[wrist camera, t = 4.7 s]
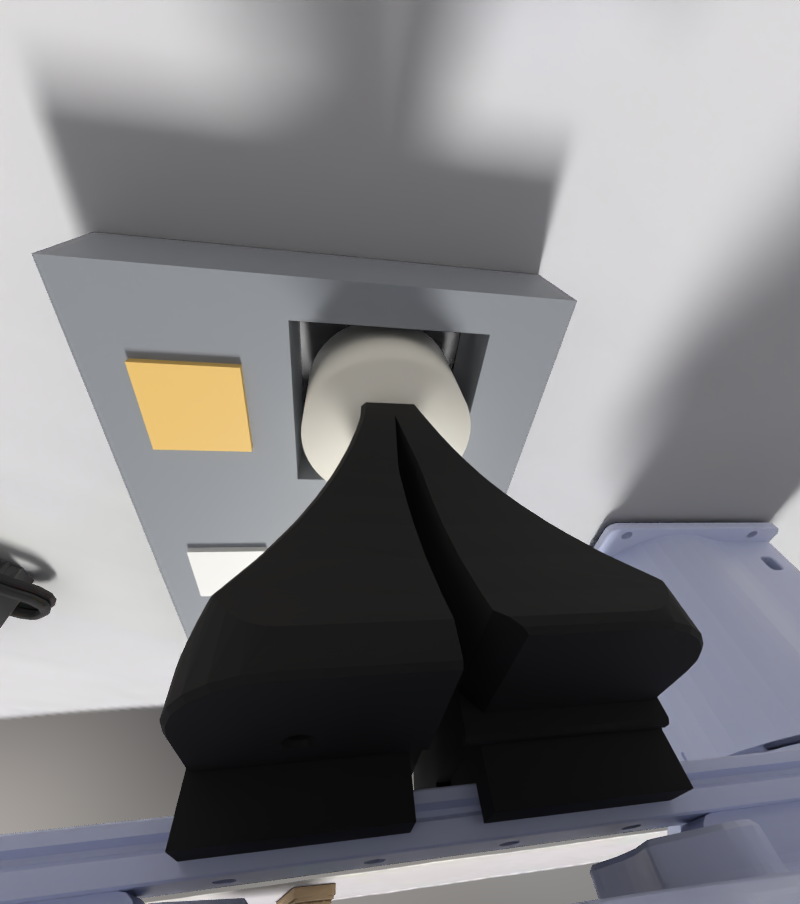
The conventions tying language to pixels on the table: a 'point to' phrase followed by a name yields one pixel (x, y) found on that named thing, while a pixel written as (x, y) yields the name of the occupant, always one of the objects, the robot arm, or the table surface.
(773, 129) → the table surface
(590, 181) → the table surface
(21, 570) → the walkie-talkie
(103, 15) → the table surface
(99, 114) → the table surface
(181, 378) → the button board
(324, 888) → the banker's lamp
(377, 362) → the button end
